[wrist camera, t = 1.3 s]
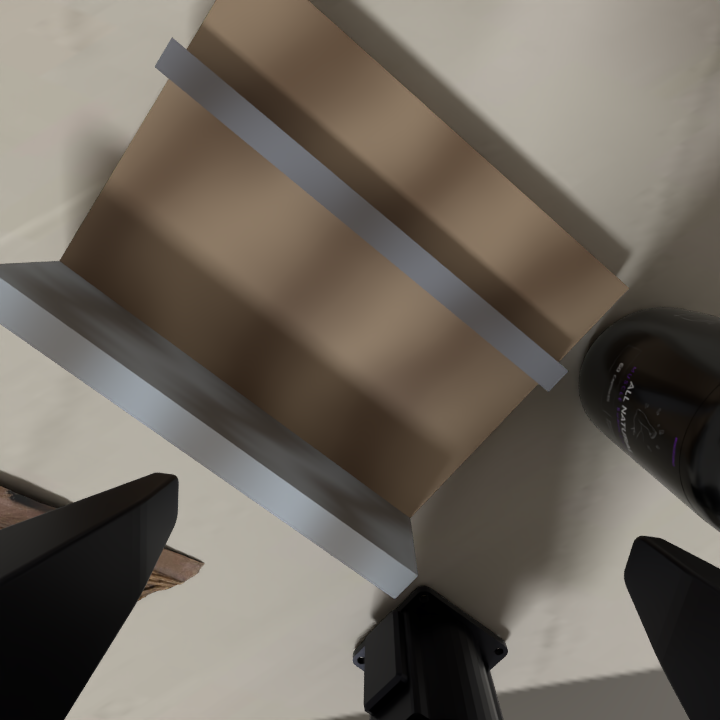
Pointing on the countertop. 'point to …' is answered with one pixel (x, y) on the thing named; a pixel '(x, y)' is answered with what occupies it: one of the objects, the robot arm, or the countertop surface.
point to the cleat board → (310, 283)
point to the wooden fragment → (169, 570)
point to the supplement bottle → (662, 399)
